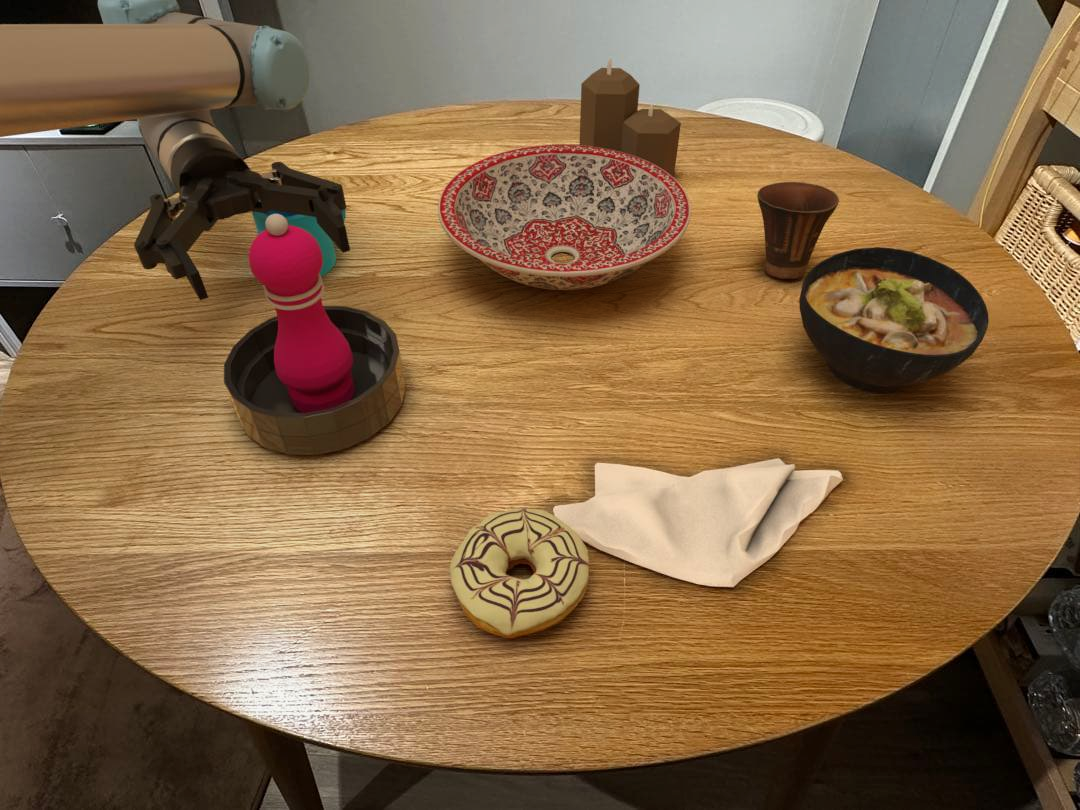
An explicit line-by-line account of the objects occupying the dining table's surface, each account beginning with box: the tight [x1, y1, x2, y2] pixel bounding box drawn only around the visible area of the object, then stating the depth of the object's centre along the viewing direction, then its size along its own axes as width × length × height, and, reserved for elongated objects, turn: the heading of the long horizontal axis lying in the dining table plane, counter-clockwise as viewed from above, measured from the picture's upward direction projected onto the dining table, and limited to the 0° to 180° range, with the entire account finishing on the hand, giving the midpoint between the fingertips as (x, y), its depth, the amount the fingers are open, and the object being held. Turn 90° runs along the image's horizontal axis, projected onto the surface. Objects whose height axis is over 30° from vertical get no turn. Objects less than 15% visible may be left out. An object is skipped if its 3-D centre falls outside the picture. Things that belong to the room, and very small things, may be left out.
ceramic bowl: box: [437, 144, 692, 291], centre depth 92 cm, size 29×29×8 cm
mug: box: [250, 199, 347, 277], centre depth 93 cm, size 12×8×8 cm
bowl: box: [798, 246, 990, 393], centre depth 77 cm, size 17×17×10 cm
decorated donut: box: [449, 507, 590, 639], centre depth 60 cm, size 10×11×4 cm
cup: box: [756, 181, 840, 280], centre depth 90 cm, size 9×9×10 cm
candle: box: [578, 57, 682, 178], centre depth 105 cm, size 14×14×15 cm
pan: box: [223, 305, 407, 456], centre depth 75 cm, size 16×16×6 cm
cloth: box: [552, 457, 844, 588], centre depth 65 cm, size 26×14×2 cm, turn 91°
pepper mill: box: [248, 214, 355, 413], centre depth 70 cm, size 7×7×20 cm
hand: (274, 262), depth 70 cm, fingers open, 13 cm apart
